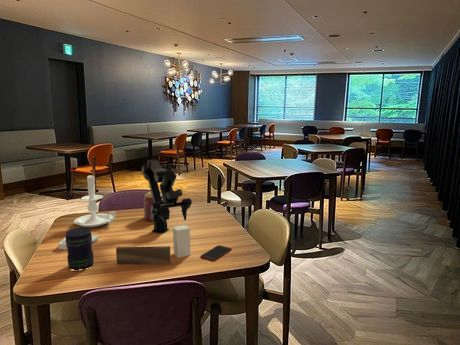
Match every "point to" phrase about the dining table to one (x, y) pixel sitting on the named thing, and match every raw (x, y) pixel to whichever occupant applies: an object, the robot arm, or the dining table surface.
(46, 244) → the dining table surface
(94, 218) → the candlestick
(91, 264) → the storage jar
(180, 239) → the off-white cabinet box
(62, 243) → the white brass knuckles
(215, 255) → the cell phone
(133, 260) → the stand
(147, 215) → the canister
